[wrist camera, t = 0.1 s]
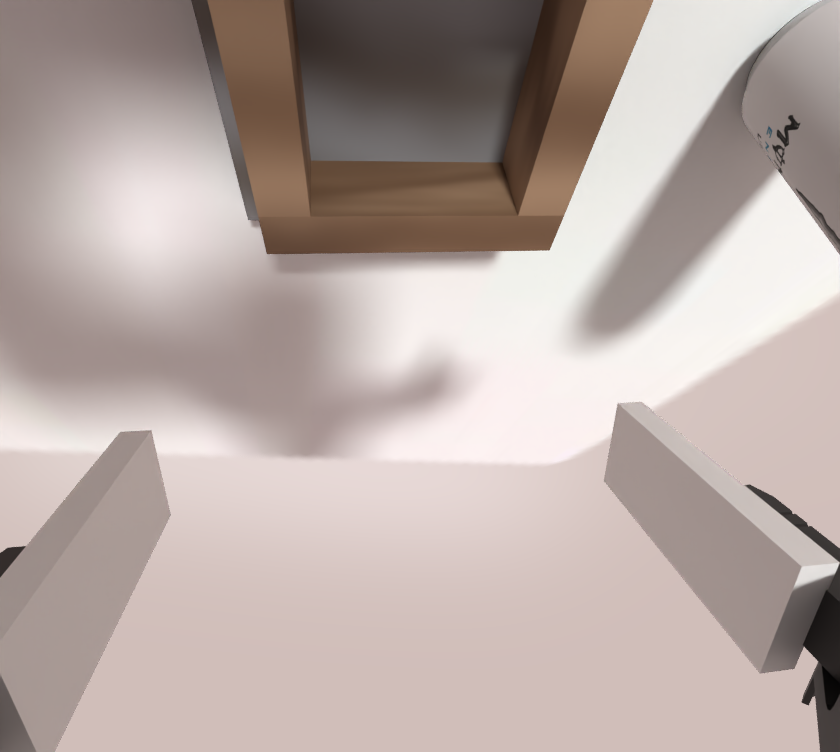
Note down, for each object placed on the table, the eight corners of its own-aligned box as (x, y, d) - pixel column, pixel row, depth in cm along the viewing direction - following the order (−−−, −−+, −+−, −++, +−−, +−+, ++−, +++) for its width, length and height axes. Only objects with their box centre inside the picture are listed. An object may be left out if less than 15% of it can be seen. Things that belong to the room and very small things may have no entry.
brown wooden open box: (123, -312, 12) (74, -274, 10) (704, -241, 14) (785, -194, 11) (250, 203, 25) (242, 275, 22) (543, 202, 27) (566, 269, 24)
